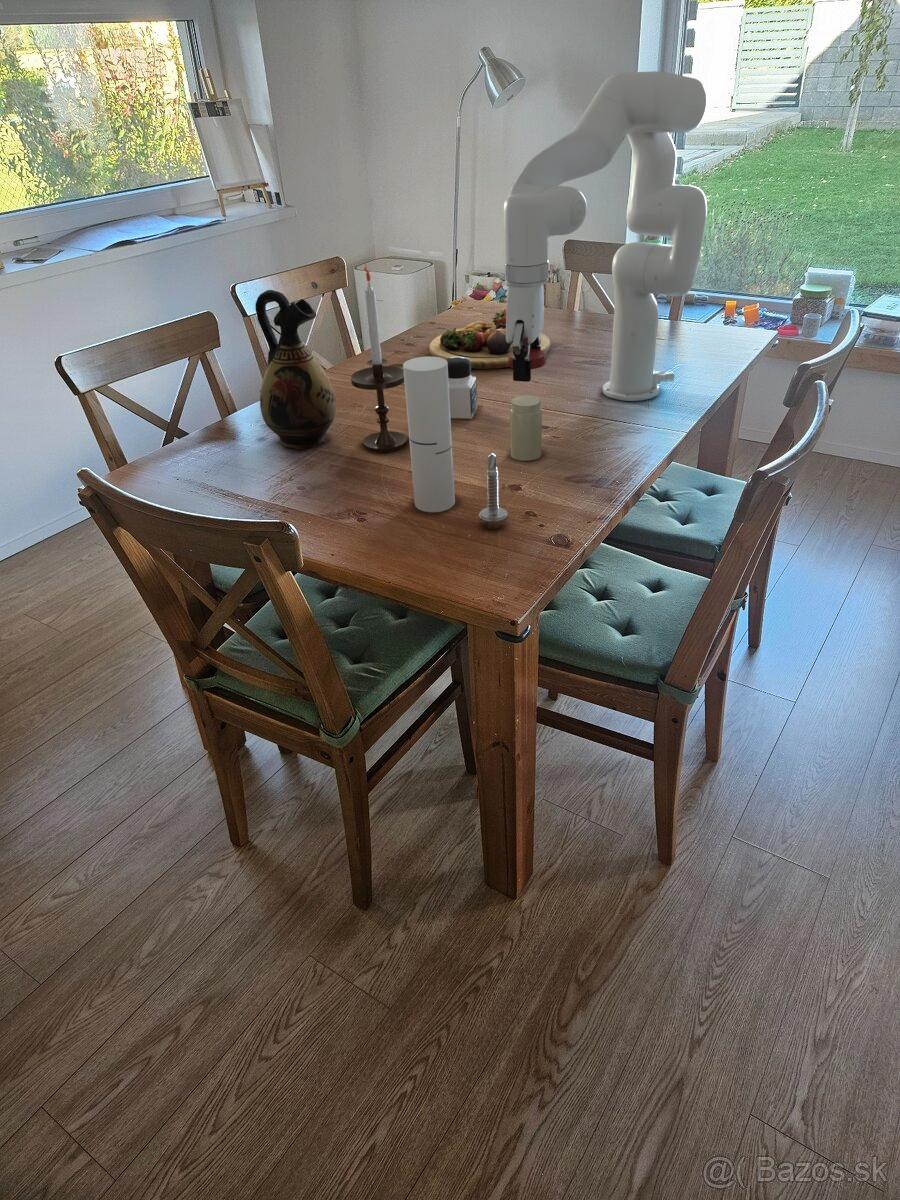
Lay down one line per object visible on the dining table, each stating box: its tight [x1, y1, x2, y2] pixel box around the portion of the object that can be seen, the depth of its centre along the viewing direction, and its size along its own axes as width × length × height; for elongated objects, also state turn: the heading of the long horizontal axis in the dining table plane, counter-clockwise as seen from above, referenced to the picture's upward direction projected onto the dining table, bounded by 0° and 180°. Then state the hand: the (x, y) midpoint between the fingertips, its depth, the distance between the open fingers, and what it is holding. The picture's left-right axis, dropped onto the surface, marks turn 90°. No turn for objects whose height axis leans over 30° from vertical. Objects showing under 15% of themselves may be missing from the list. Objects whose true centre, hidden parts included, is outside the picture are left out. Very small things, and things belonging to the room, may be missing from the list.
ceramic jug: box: [254, 289, 337, 450], centre depth 164 cm, size 17×15×30 cm
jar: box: [509, 395, 543, 462], centre depth 157 cm, size 6×6×11 cm
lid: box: [508, 348, 547, 370], centre depth 150 cm, size 7×7×2 cm
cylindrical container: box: [402, 356, 456, 513], centre depth 138 cm, size 7×7×25 cm
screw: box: [478, 453, 509, 530], centre depth 134 cm, size 13×5×5 cm
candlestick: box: [350, 263, 408, 454], centre depth 159 cm, size 11×11×35 cm
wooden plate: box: [428, 308, 551, 370], centre depth 214 cm, size 32×32×8 cm
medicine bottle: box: [446, 356, 478, 420], centre depth 177 cm, size 7×7×12 cm
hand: (527, 373), depth 152 cm, fingers closed on lid, 6 cm apart
